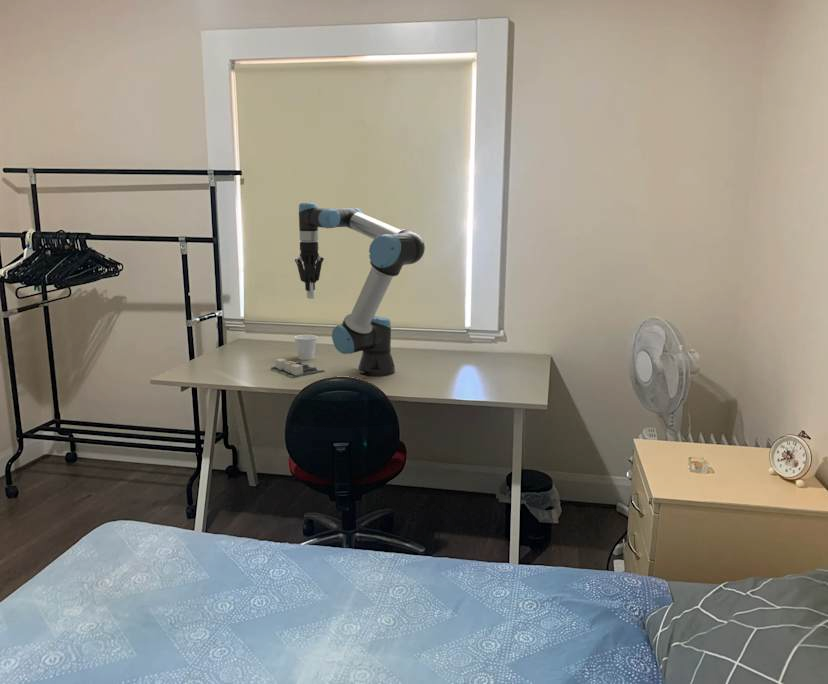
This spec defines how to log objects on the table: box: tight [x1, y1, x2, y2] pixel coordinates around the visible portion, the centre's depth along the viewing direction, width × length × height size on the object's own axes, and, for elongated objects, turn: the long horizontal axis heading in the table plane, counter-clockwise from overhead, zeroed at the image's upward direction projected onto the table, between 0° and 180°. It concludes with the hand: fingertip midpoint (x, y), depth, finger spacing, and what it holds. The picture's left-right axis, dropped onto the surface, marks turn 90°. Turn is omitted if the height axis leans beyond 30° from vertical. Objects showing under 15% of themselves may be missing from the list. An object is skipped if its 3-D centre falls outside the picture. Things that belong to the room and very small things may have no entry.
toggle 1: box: [274, 358, 288, 369], centre depth 284 cm, size 4×3×4 cm
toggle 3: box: [291, 364, 303, 375], centre depth 276 cm, size 4×3×4 cm
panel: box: [269, 361, 327, 379], centre depth 283 cm, size 18×16×2 cm
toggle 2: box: [284, 360, 297, 372], centre depth 280 cm, size 4×3×4 cm
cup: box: [293, 334, 318, 361], centre depth 302 cm, size 10×10×11 cm
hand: (310, 298), depth 289 cm, fingers closed
